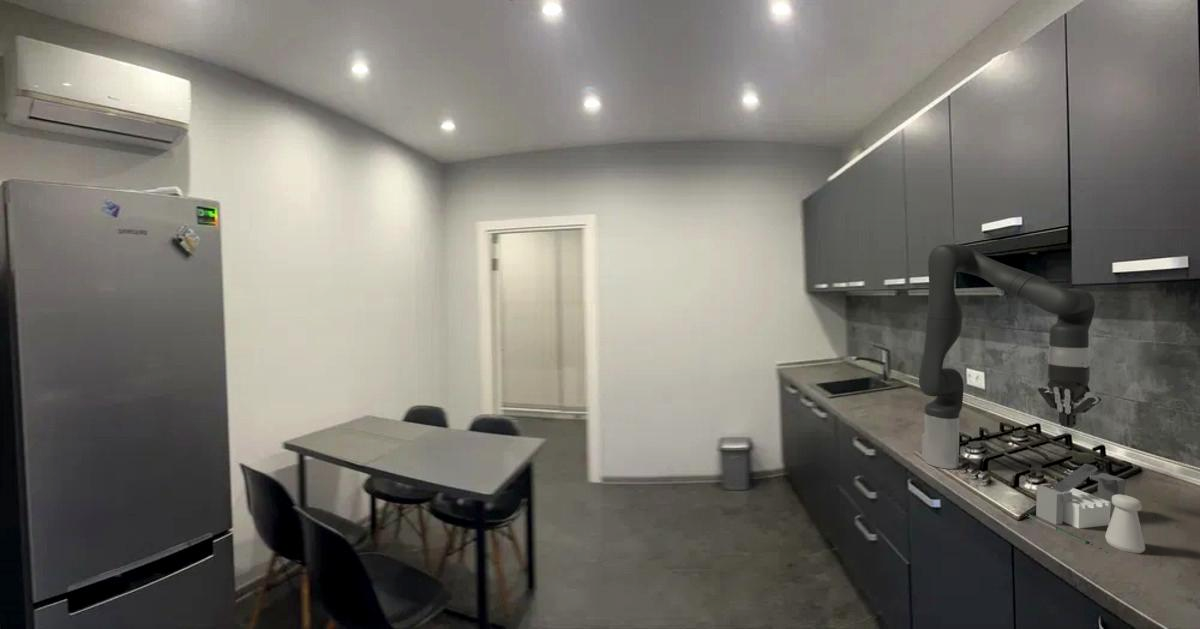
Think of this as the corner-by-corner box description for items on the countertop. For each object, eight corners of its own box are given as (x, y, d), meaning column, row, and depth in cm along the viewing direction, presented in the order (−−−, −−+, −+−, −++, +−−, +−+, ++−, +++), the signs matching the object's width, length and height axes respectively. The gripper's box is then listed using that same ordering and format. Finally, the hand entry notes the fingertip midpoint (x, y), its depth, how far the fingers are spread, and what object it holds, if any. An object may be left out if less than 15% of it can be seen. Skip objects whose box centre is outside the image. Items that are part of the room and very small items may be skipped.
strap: (1047, 493, 109) (1045, 489, 109) (1084, 466, 110) (1082, 461, 110) (1062, 499, 106) (1060, 495, 106) (1100, 471, 107) (1098, 466, 107)
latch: (1088, 509, 112) (1089, 474, 111) (1103, 508, 112) (1104, 473, 111) (1108, 517, 108) (1109, 481, 107) (1123, 516, 108) (1125, 479, 107)
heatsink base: (1012, 509, 116) (1012, 475, 115) (1077, 501, 118) (1078, 469, 118) (1084, 543, 100) (1086, 505, 99) (1158, 534, 102) (1160, 496, 102)
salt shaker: (1135, 562, 93) (1137, 505, 92) (1098, 547, 98) (1100, 493, 98) (1151, 556, 95) (1153, 500, 94) (1114, 542, 100) (1115, 489, 99)
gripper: (1028, 360, 119) (1027, 420, 120) (1087, 368, 106) (1086, 435, 107) (1051, 358, 120) (1050, 418, 121) (1112, 366, 107) (1111, 433, 107)
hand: (1067, 426), depth 114 cm, fingers closed
